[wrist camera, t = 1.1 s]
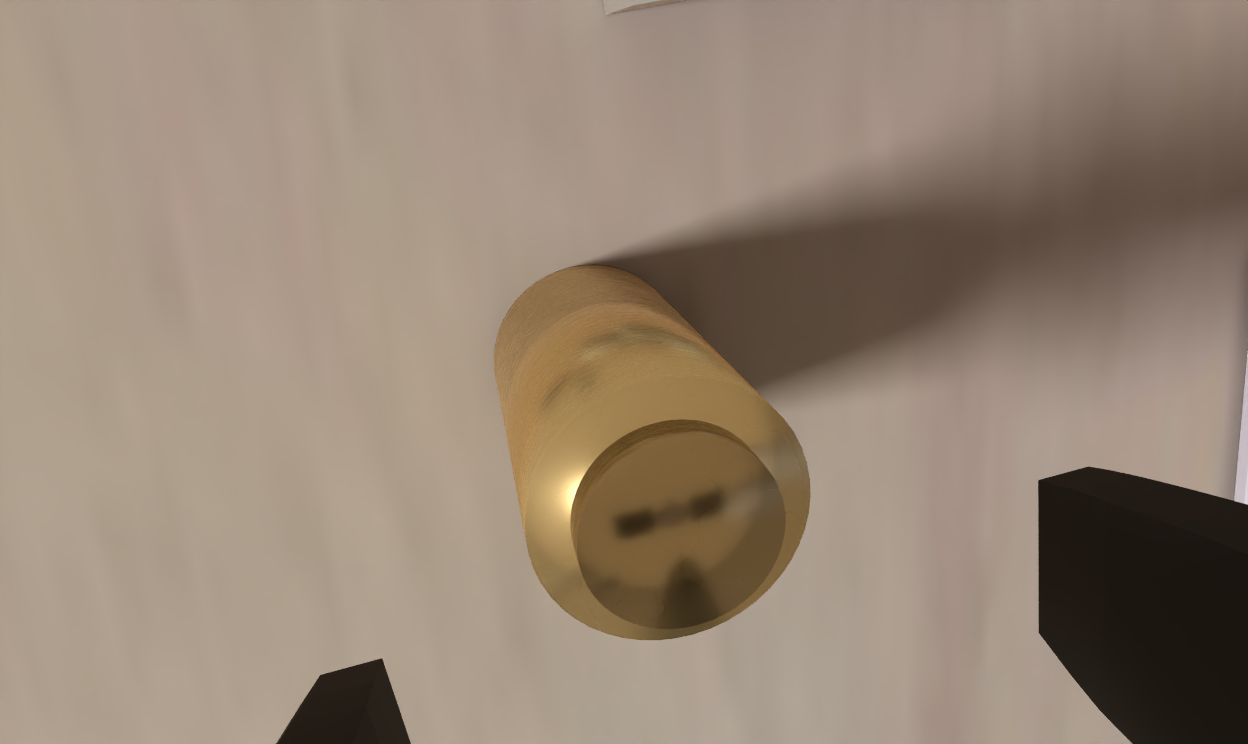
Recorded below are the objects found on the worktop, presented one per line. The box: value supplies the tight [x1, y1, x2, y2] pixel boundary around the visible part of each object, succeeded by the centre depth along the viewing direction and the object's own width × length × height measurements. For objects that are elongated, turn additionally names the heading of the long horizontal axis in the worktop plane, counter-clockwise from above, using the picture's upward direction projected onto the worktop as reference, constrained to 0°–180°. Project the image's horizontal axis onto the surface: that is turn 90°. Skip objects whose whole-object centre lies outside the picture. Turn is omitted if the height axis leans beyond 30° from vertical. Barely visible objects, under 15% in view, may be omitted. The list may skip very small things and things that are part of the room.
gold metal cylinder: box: [494, 265, 810, 640], centre depth 15 cm, size 4×4×8 cm
